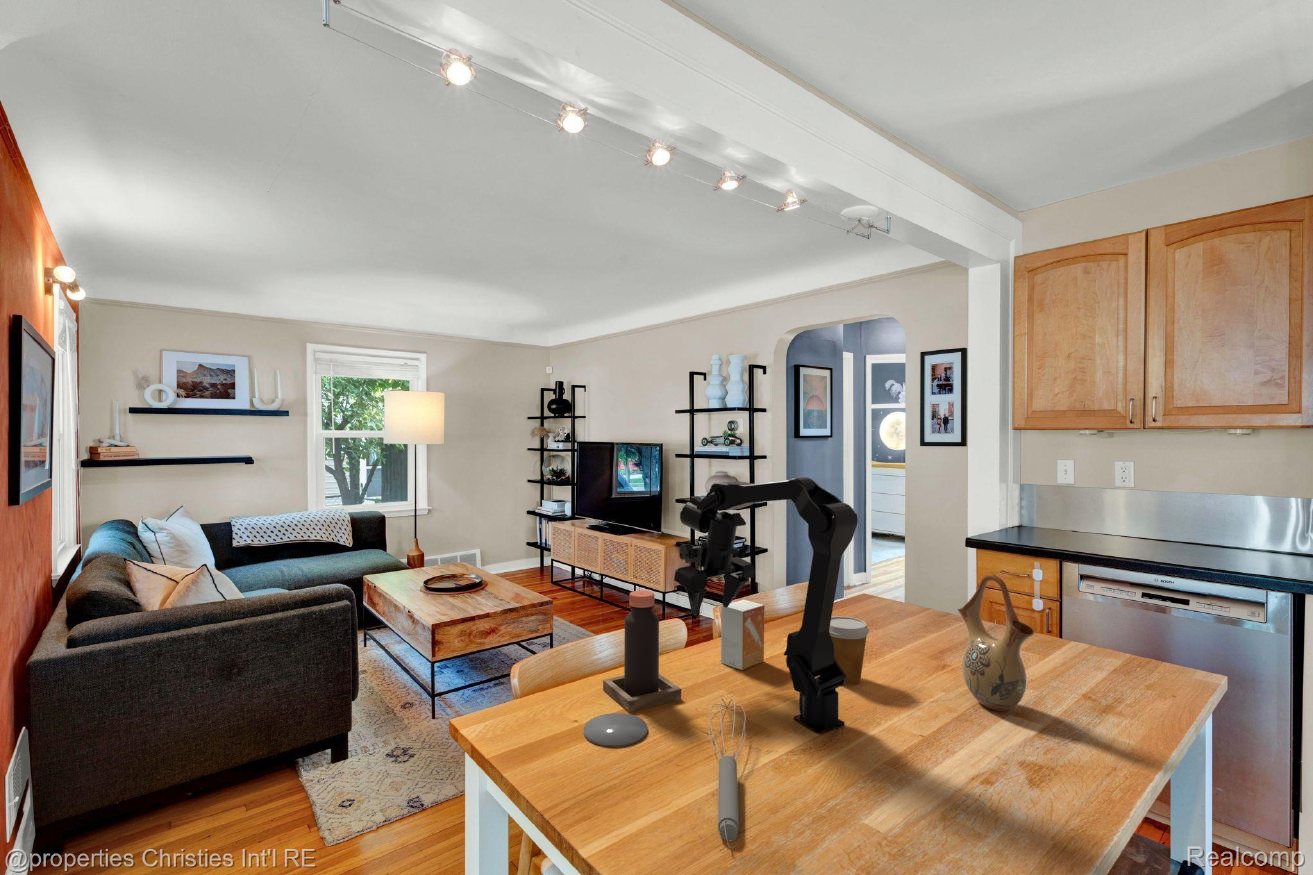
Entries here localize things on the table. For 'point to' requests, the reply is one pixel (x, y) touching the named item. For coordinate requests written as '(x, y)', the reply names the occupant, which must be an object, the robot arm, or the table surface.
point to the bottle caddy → (644, 701)
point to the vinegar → (641, 645)
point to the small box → (742, 634)
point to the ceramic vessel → (994, 654)
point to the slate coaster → (615, 729)
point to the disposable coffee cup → (849, 645)
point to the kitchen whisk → (728, 786)
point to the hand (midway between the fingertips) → (709, 610)
